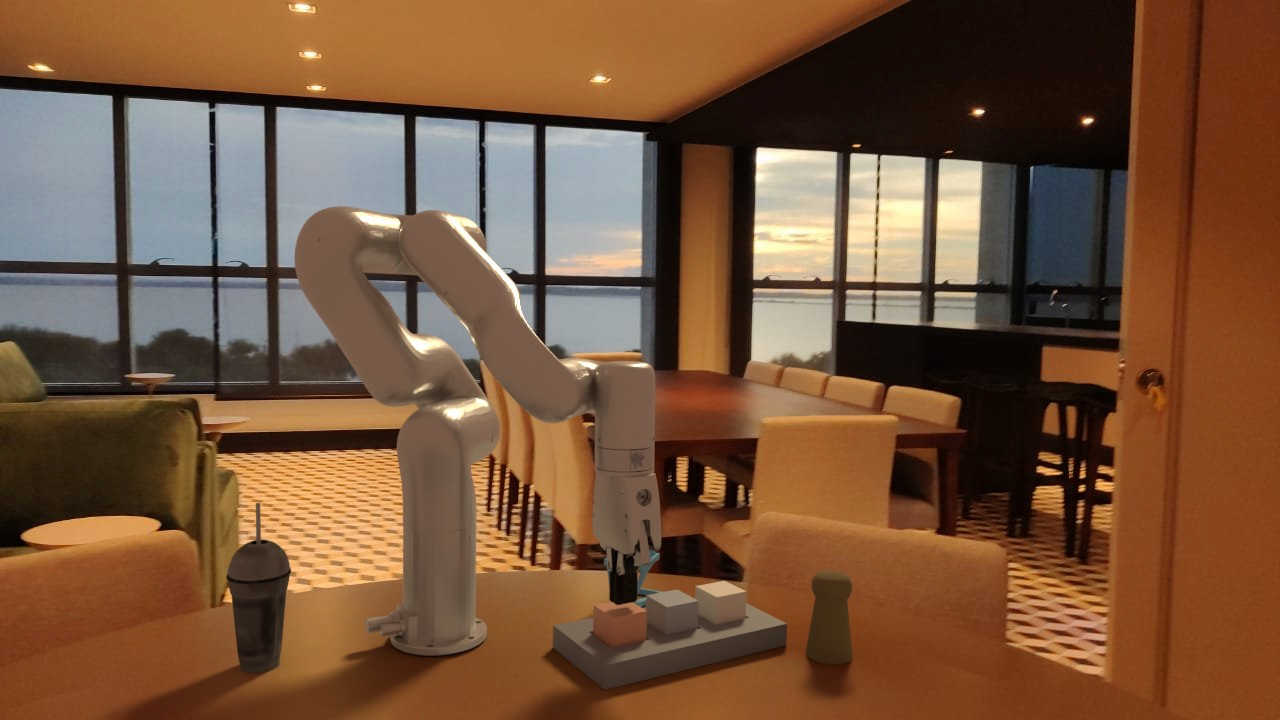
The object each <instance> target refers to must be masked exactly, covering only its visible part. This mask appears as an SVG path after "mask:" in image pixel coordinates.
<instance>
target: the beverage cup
mask: <svg viewBox="0 0 1280 720" xmlns="http://www.w3.org/2000/svg"><path fill="white" fill-rule="evenodd" d="M261 519H262V517H261V502H255V527H256V528H255V534H256V535H255V540H252V541H249V542H246V543H245V544H244V545H242V546H240V547H239V548H238V549H237V550H236V551H235V552H234V553H233V556H232V557H231V559H230V562H229V565H228V569H227V573H226V579H227V585H228V590H229V594H230V595H231V603H232V605H231V606H232V614H233V621H234V631H235V634H234V635H235V641H236V642H235V643H236V651H237V657H238V663H239V670H240V671H241V672H244V673H246V674H261V673H265V672H268V671H271V670H274V669H276V668H277V667H278V666H279V665H280V662H281V661H280V660H281V659H280V658H281V653H282V648H283V647H282V646H283V635H284V624H285V623H284V621H285V611H286V601H287V600H286V599H287V591H288V587H289V581H290V576H291V572H292V568H291V565H290V560H289V557H288V555H287V553H286V551H285V550H284V549H283V548H282V547H281V546H280V545H279V544H277V543H276V542H275V541H272V540H269V539H262V533H261V531H262V527H261V523H262V521H261Z"/></svg>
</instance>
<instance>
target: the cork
mask: <svg viewBox="0 0 1280 720" xmlns="http://www.w3.org/2000/svg"><path fill="white" fill-rule="evenodd" d="M811 591H812V593H813V595H814V596H815V597H814V602H813V608H812V614H811V620H810V624H809V625H810V626H809V631H808V635H807V637H808V638H807V642H806V648H805V655H806V656H807V657H808V658H809V659H811V660H813V661H815V662H818V663H820V664H828V665H843V664H846V663H850V662H851V661H852V660H853V649H852V638H851V635H852V634H851V625H850V614H849V602H848V600H849V598H850V597H851V595H852V593H853V592H852V591H853V583H852V580H851V578H850V576H849V575H848V574H846V573H844V572H841V571H838V570H832V569H831V570H830V569H829V570H828V569H827V570H825V569H824V570H820V571H818V572H816V573H814V576H813V577H812V580H811Z"/></svg>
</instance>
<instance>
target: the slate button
mask: <svg viewBox="0 0 1280 720" xmlns="http://www.w3.org/2000/svg"><path fill="white" fill-rule="evenodd" d="M645 597H646V606H645V607H646V611H647V625H648V626H650V627H652V628H653V629H655V630H656V631H658V632H660V633H661V634H663V635H664V636H668V635H672V634H677V633H681V632H686V631H691V630H695V629H698V605H699V601H698V600H696V599H694V598H695V597H692V596H691V595H689V594H687V593H685V592H683V591H681V590H679V589H673V590H667V591H661V593H656V594H651V595H645Z"/></svg>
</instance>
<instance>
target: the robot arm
mask: <svg viewBox="0 0 1280 720" xmlns="http://www.w3.org/2000/svg"><path fill="white" fill-rule="evenodd" d="M487 247H488V245H487V240H486V237H485V235H484V233H483V231H482V230H481V228H480V227H479V226H478V224H476V223H475V222H474V221H473V220H471V219H470V218H468V217H465V216H463V215H460V214H456V213H451V212H447V211H443V210H437V209H428V210H427V209H426V210H423V211H419V212H417V213H416V214H414V215H412V214H411V215H410V214H409V215H407V214H393V213H392V214H391V213H384V212H378V211H372V210H369V209H364V208H359V207H358V208H357V207H353V206H346V205H345V206H343V205H342V206H341V205H340V206H330V207H326V208H321V209H320V210H318V211H316V212H315V213H314V214H311V216H310V217H309V218H308V219H307V220H306V221H305V223H304V224H303V225H302V227H301V229H300V231H299V233H298V236H297V239H296V243H295V247H294V269H295V274H296V279H297V281H298V283H299V286H300V288H301V290H302V292H303V294H304V296H305V297H306V300H307V301H308V303H309V304H310V305H311V306H312V308H313V311H315V313H317V315H318V317H319V318H320V319H321V321H322V322H323V323H324V325H325V326H326V328H327V329H328V330H329V332H330V334H331V336H332V337H333V338H334V341H335V342H336V343H337V346H338V347H339V348H340V350H341V352H342V353H343V354H344V356H345V357H346V359H347V361H348V362H349V364H350V365H351V367H352V369H353V370H354V372H355V373H356V374H357V376H358V377H359V379H360V381H361V382H362V383H363V385H364V386H365V388H366V389H367V391H368V393H369V394H370V396H371V397H372V398H373V399H374V400H376V401H377V402H378V403H379V404H381V405H383V406H387V407H391V408H394V407H405V406H410V405H415V407H416V408H417V409H416V410H415V411H414V412H413V413H411V414H410V415H409V416H408V417H407V419H406V420H405V421H404V422H403V424H402V425H401V427H400V429H399V432H398V436H397V440H396V441H397V442H396V455H397V457H396V458H397V462H398V468H399V472H400V473H399V475H400V480H401V491H402V492H401V493H402V528H403V530H402V602H401V603H396V605H395V611H390V612H389V614H388V615H381V616H380V615H378V616H372V617H366V618H365V621H364V626H365V627H364V628H365V632H366V634H372V633H377V632H379V633H380V635H381V637H385V636H389V637H390V644H391V645H392V646H393V647H394V648H396V649H397V650H399V651H400V652H403V653H407V654H411V655H415V656H445V655H446V656H447V655H452V654H458V653H461V652H465V651H468V650H470V649H473V648H475V647H477V646H478V645H480V644H482V642H484V641H485V640H486V638H487V636H488V626H487V624H486V623H485V621H483V620H482V619H481V618H479V617H476V598H477V597H476V595H477V594H476V593H477V592H476V590H477V587H476V586H477V583H476V582H477V496H476V489H475V485H474V479H473V475H472V473H473V472H472V465H474V464H476V463H479V462H480V461H482V460H484V459H486V458H487V457H488V456H490V454H492V452H494V450H495V449H496V448H497V446H498V443H499V440H500V436H501V424H500V420H499V417H498V414H497V412H496V410H495V409H494V406H493V405H492V402H490V399H488V397H487V396H486V394H485V393H484V391H483V389H482V388H481V386H480V385H479V384H478V382H477V380H476V379H475V377H474V376H473V374H472V373H471V372H470V370H469V368H468V367H467V366H466V364H465V363H464V361H463V360H462V358H461V357H460V356H459V354H458V352H456V350H455V349H454V348H453V347H452V346H451V345H450V344H448V342H446V341H445V340H444V339H442V338H440V337H438V336H437V335H433V334H431V333H429V334H428V333H412V332H411V331H410V330H409V329H408V328H407V327H406V325H404V323H403V322H402V320H401V318H400V317H399V316H398V315H397V313H396V311H395V310H394V309H393V308H394V307H393V306H392V305H391V303H390V302H389V300H388V299H387V298H386V297H385V295H383V293H382V292H380V291H379V289H378V288H376V286H374V284H372V283H371V281H370V280H369V279H368V277H367V276H366V274H368V273H369V274H380V275H381V274H385V275H405V276H406V275H408V276H409V275H410V276H418V277H419V278H420V279H421V281H423V283H424V284H425V286H427V287H428V288H429V289H430V290H431V291H432V292H433V293H434V294H435V295H436V296H437V297H438V298H439V299H440V301H441V302H442V303H443V304H444V305H445V306H446V307H447V308H448V310H449V311H451V313H452V314H453V315H454V316H455V317H456V318H457V320H458V321H459V322H460V323H461V324H462V325H463V326H464V328H465V329H466V330H467V332H468V333H469V335H470V339H471V341H472V343H473V345H474V347H475V349H476V351H477V352H478V354H479V357H480V358H481V360H482V362H483V364H484V365H485V367H486V368H487V370H488V371H489V373H490V374H491V376H492V377H494V379H495V381H497V382H498V384H499V385H500V386H501V387H502V388H503V389H504V390H505V392H507V394H509V395H510V397H511V398H512V399H513V400H514V401H515V402H516V404H518V406H520V407H521V408H522V409H523V410H524V411H525V412H526V413H527V414H529V415H530V416H531V417H533V419H534V418H535V419H536V420H538V421H541V422H542V423H545V424H546V423H547V424H560V423H564V422H566V421H569V420H570V419H573V418H574V417H579V416H582V415H585V414H590V413H591V414H592V413H594V472H595V477H594V485H593V486H594V487H593V499H592V500H593V501H592V532H593V536H594V537H595V539H596V540H597V541H598V543H599V546H600V547H601V548H602V549H603V550H604V551H605V553H606V558H607V565H608V569H609V570H612V571H610V584H609V583H608V586H609V589H608V590H609V591H608V592H609V595H608V596H609V598H608V599H609V601H610V602H613V603H614V604H616V605H622V604H627V603H632V602H635V601H636V600H638V595H637V581H638V573H640V566H645V565H649V564H650V556H649V552H650V551H649V550H652V551H655V552H658V551H659V550H660V549H661V545H662V522H661V519H662V518H661V505H660V494H659V486H658V485H659V484H658V480H657V476H656V473H655V443H656V442H655V436H656V435H655V434H656V433H655V430H656V429H655V428H656V427H655V424H656V423H655V422H656V420H655V418H656V413H655V412H656V373H655V369H654V367H653V366H652V365H651V364H649V363H647V362H643V361H636V360H635V361H633V360H617V361H616V360H615V361H607V362H606V361H599V360H592V359H587V358H580V357H565V358H560V359H559V358H558V357H557V356H556V355H555V354H554V353H553V352H552V351H551V350H550V349H549V348H548V347H547V346H546V345H545V343H544V342H543V341H542V340H541V339H540V337H539V336H537V335H536V333H535V332H534V330H533V328H531V327H530V325H529V324H528V322H527V320H526V318H525V316H524V314H523V311H522V308H521V292H520V289H519V287H518V285H517V284H516V283H515V281H513V279H512V278H511V277H510V276H509V275H508V274H507V273H506V272H505V271H504V270H503V268H501V267H500V266H499V265H498V264H497V263H496V262H495V261H494V259H493V258H492V257H491V256H490V255H489V254H488V253H487V249H488V248H487Z"/></svg>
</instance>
